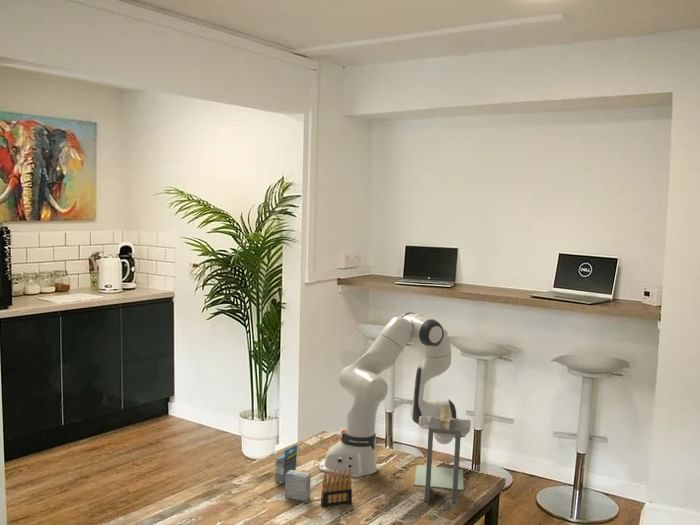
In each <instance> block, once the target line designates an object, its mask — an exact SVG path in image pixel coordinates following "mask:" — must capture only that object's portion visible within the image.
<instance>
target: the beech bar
mask: <svg viewBox="0 0 700 525" xmlns="http://www.w3.org/2000/svg"><path fill="white" fill-rule="evenodd" d="M449 424H450V406H449V405H442V410H441V426H440V429H444V430H449Z"/></svg>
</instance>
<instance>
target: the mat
mask: <svg viewBox="0 0 700 525" xmlns="http://www.w3.org/2000/svg"><path fill="white" fill-rule="evenodd" d="M415 469H416V470H415V476H414V482H413V487H414V486H415V487H424V488H425V487H426V469H427V465H421V464H416V468H415ZM453 471H454V467H453V468H451V467H443V466H442V467H440V466H432V465H431V484H430V488H434V489H435V488H436V489H443V488H444V489H445V490H452V489H453ZM464 488H465V487H464V469H463V468H462V469H460V468H459V474H458V491H463V490H464Z"/></svg>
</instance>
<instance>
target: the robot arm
mask: <svg viewBox="0 0 700 525" xmlns="http://www.w3.org/2000/svg"><path fill="white" fill-rule="evenodd" d="M409 341H412V342H414V343H418V344H420V345H423V356H424V357H423V361H422V363H421V364H418V366H417V369H416V373H415V380H414V381H415V382H414V392H413V399H412V400H413V401H412V406H411V408H410V409H411V410H410V414H411V415H410V416H411V419H412V421H413V422H414V423H415V424H417V425H418V426H419V428H421V429H424V430H429V421H430V418H435V419H441V410H442V405H449V406H450V420H458V421H461V438H466V436H467V435H468V434H469V433H470V432H471V427H472V426H471V425H472V424H471V423H472V421H471V420H470V419H462V418H461V419H460V418H458V417H457V408H456V406H455V405H456V404H454V403H453V402H452V400H451V399H449V398H440V399H432V400H431V399H429V400H424V394H425V386H426V384H427V383H428V382H429V381H430V380H431V379H433V378H436V377H439V376H441V375H442V374H444V373H445V372H447V370H449V368H450V366H451V364H452V349H451V348H452V346H451V341H450V336H449V334H448V331H447V330H446V328H445V327H443V326H442V324H441V323H440V322H439V321H437V320H436V319H434V318H433V319H432V318H430V317H428V316H426V315H423V314H419V313H415V312H404V313H403V314H401V315H400V316H395V317H393V318H391V320H390V321H389V322H388V323H387V324H386V325H385V326H384V327H383V329H382V330H381V331H380V332H379V334H378V335H377V337H376V338H375V340H374V341H373V343H372V344H371V345H370V346H369V348H368V350H367V351H366V352H365V353H364V354H363V355H362V356H360V357H359V358H358V359H357V360H356V361H354V362H353V363H351V364H349V365H347V366H345V367H344V368H343V369H342V370H341V371H340V373H339V376H338V382H339V384H340V386H341V387H342V388H343V390H345V391H346V392H347V393H349V394H350V395H352V396H353V397H354V400H353V404H352V406H351V408H349V410H348V411H347V415H346V429H345V428H343V429H341V433H340V440H339V441H338V442H336V443H335V444H334V445H332V446H330V447H329V448H328V449H327V452H326V454H325V457H323V459H321V460H320V462H319V464H318V465H319V466H318V469H319V470H320V472H324V473H325V471H326V473H327V474H329V473H330V471H331V472H332V474H334V472H335V470H336V472H337V475H339V471H340V470H341V473H342V476H343V473H344V470H345V469H346V474H347V477H348V471H349V469H350V470H351V478H360V477H362V476H363V477H364V476H369V475H372V474H375V473H376V472H377V471H378V466H377V461H376V452H375V449H376V445H377V442H376V441H377V437H376V436H377V434H376V418H377V412H378V409H379V406H380V404H381V402H382V401H384V400H385V399H386V397H387V395H388V391H389V387H388V383H387V381H385V380H384V379H383V377H381V375H380V374H381V373H382V372H384V371H386V370H388V369H390V368H392V367H393V365H394V364H395V363H396V361H397V359H398V358H399V356H400V355H401V353H402V352H403V350H404V348H405V347H406V346H407V344H408V342H409ZM455 436H456V435H452V434H441V433H433V438H434V439H435V441H436V442H437V443H439V444H440V445H448V444H450V443H451V442H452V441H453V440H454V439H455Z"/></svg>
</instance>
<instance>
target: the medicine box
mask: <svg viewBox="0 0 700 525" xmlns="http://www.w3.org/2000/svg"><path fill="white" fill-rule="evenodd" d="M311 476H312V474H311V472H306V471H301V470H296V471H295V470H290V471H289V472H287V473H286V474H285V483H284V484H285V485H284V498H285V497H286V499H290V498H291V499H292V500H295V499H296V500H297V501H302V502H307V500H308V499H309V498H311V484H312V483H311V482H312V481H311V479H312V478H311ZM291 499H290V500H291Z"/></svg>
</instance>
